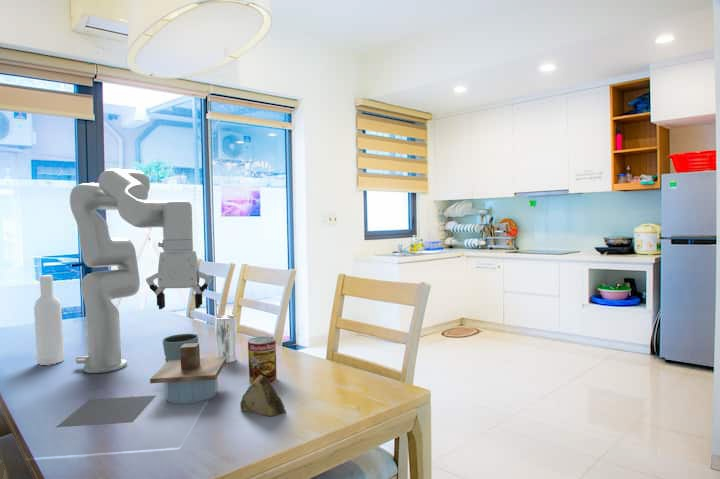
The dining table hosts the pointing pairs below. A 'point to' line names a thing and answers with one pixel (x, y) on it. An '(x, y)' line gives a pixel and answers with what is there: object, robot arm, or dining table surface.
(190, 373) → the lid
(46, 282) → the bottle
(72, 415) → the board
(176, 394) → the bowl
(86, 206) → the robot arm
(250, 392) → the rock
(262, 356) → the canned food
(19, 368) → the dining table surface
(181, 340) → the drinking glass
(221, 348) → the beer glass
